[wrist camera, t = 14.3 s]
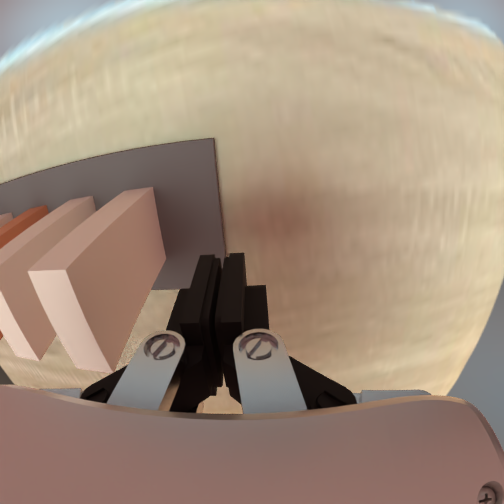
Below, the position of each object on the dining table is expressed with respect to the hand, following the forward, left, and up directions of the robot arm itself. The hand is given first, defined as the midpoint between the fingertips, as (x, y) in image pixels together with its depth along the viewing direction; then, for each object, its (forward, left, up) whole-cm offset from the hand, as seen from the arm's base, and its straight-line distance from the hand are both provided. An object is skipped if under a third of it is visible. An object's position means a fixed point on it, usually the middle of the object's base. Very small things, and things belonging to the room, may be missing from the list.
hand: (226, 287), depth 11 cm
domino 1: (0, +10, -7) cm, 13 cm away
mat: (0, +14, -8) cm, 16 cm away
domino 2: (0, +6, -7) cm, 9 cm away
